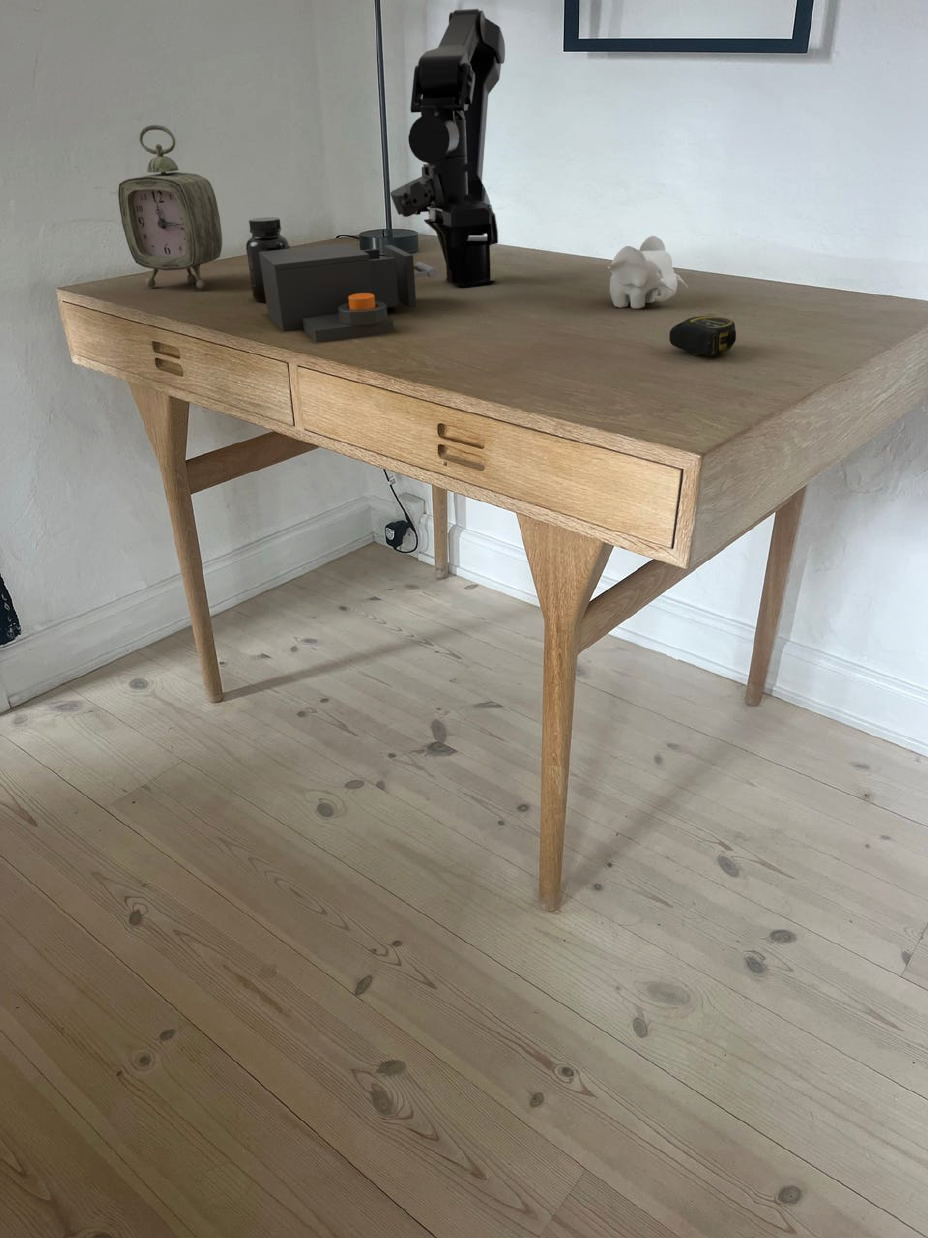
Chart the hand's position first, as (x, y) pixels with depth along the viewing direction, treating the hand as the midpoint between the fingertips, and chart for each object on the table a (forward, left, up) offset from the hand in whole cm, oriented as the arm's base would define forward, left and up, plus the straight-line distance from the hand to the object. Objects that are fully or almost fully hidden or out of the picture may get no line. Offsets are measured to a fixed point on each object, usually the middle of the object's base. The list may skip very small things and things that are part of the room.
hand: (451, 269), depth 141 cm
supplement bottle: (+25, -17, -5) cm, 30 cm away
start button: (+18, +12, -1) cm, 21 cm away
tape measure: (-16, +44, -5) cm, 47 cm away
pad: (+20, +10, -5) cm, 23 cm away
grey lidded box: (+21, 0, -5) cm, 22 cm away
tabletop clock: (+37, -36, -5) cm, 52 cm away
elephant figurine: (-23, +18, -5) cm, 30 cm away
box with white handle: (+12, 0, -4) cm, 12 cm away
